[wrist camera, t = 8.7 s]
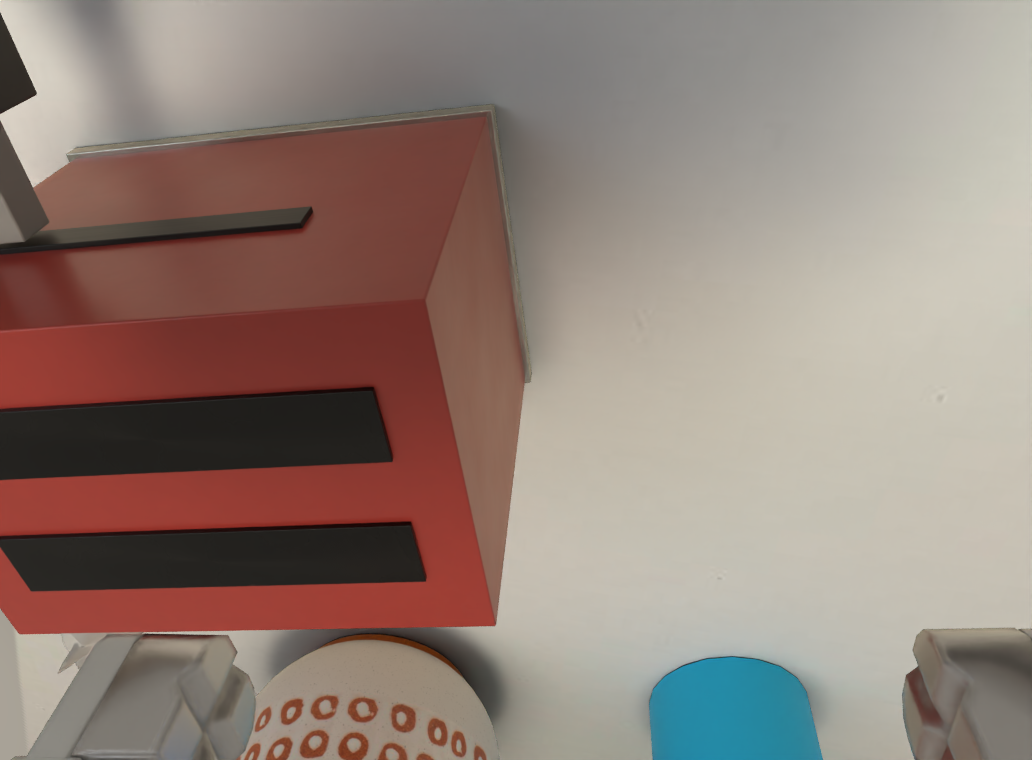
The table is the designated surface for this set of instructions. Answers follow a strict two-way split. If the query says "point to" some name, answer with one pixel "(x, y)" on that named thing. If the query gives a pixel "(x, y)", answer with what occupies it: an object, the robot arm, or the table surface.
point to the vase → (370, 706)
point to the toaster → (264, 382)
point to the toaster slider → (3, 182)
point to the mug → (732, 713)
